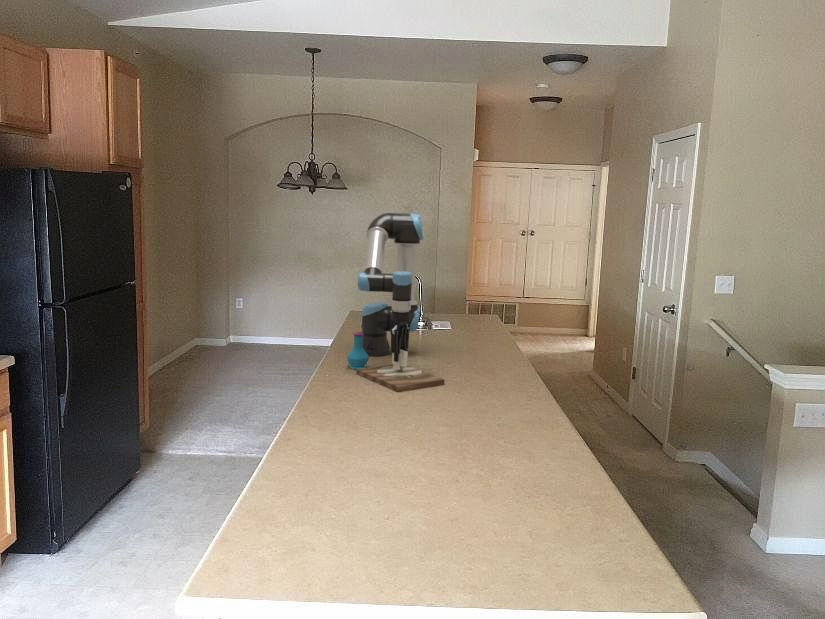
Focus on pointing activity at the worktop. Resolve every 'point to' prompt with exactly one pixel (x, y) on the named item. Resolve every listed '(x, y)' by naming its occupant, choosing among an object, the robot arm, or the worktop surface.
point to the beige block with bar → (402, 364)
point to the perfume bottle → (358, 353)
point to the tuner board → (400, 378)
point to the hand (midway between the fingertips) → (399, 367)
